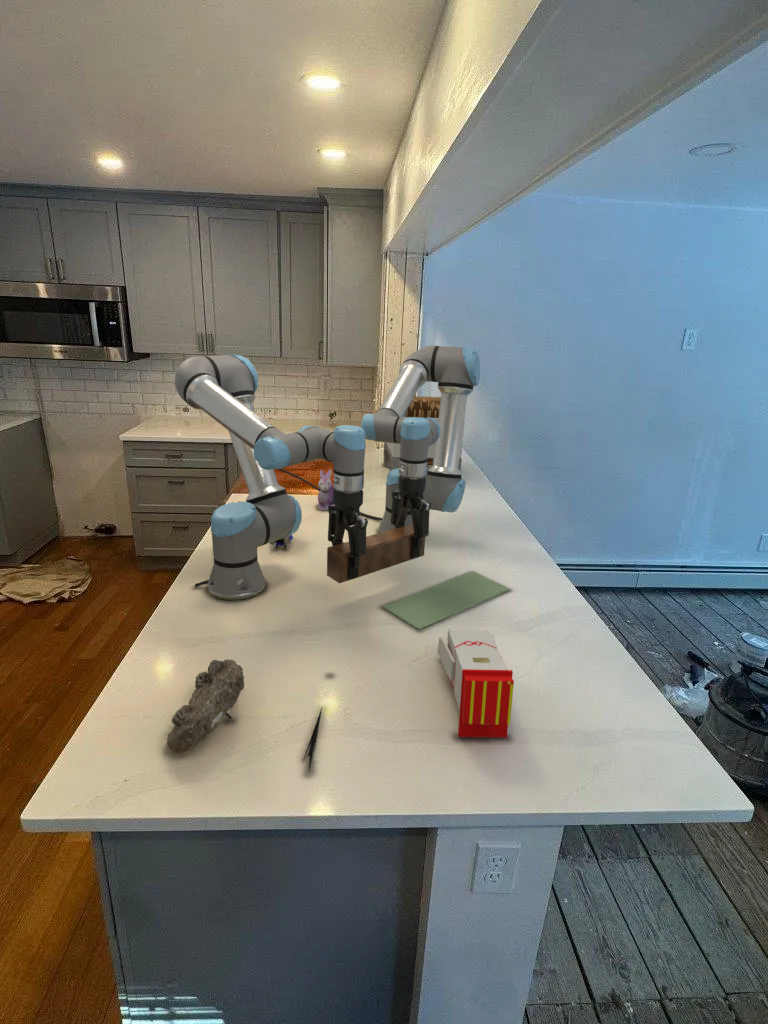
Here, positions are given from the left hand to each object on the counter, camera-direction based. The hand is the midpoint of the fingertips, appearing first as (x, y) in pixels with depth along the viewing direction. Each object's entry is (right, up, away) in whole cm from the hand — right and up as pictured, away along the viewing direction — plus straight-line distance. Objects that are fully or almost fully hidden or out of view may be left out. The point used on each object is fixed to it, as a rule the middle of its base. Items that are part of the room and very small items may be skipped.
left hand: (345, 573), depth 148 cm
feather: (-2, -24, -39) cm, 46 cm away
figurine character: (-23, +6, +39) cm, 46 cm away
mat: (+28, -8, +9) cm, 30 cm away
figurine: (-12, +18, +75) cm, 78 cm away
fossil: (-23, -23, -40) cm, 51 cm away
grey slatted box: (+27, +35, +127) cm, 134 cm away
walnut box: (+8, +1, +7) cm, 11 cm away
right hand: (+17, +4, +14) cm, 22 cm away
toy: (+28, -22, -30) cm, 46 cm away
